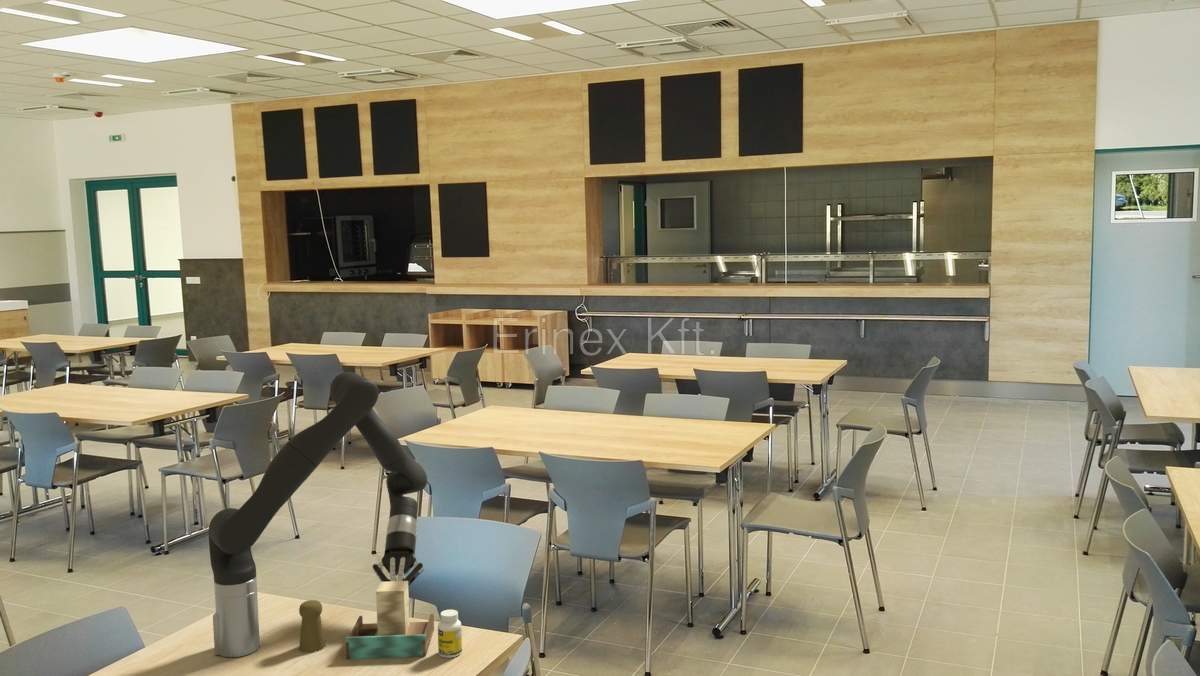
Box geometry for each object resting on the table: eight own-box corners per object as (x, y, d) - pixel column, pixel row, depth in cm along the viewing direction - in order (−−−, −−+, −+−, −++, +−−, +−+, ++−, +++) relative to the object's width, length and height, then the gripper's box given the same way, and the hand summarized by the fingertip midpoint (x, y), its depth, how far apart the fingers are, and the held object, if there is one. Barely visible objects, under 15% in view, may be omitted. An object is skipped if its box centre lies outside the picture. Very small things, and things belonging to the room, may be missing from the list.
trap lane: (346, 659, 214) (345, 638, 214) (360, 631, 230) (359, 612, 229) (425, 656, 215) (425, 635, 215) (434, 629, 230) (433, 609, 230)
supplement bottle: (433, 655, 216) (432, 614, 215) (448, 646, 220) (446, 606, 219) (452, 660, 213) (451, 618, 212) (466, 651, 218) (465, 610, 217)
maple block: (377, 636, 222) (376, 591, 221) (382, 625, 228) (381, 581, 227) (405, 635, 222) (403, 590, 221) (409, 624, 229) (408, 580, 227)
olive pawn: (313, 639, 225) (311, 595, 224) (331, 645, 222) (329, 600, 221) (293, 649, 220) (291, 603, 219) (311, 654, 217) (309, 608, 216)
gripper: (372, 530, 236) (365, 595, 225) (425, 529, 237) (420, 594, 226) (377, 544, 242) (370, 608, 231) (429, 542, 242) (424, 606, 232)
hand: (395, 601), depth 228 cm, fingers closed
